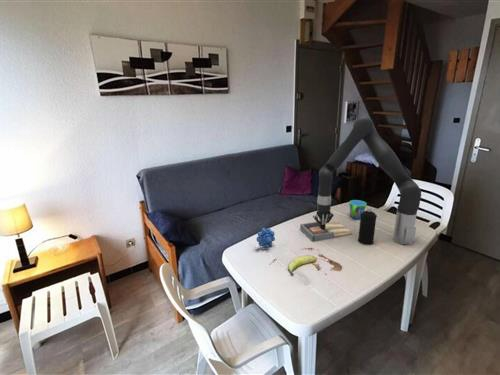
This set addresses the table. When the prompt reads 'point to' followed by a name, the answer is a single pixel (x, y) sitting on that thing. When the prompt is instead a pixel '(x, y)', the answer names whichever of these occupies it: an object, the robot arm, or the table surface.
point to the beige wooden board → (337, 229)
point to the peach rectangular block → (316, 230)
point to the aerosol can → (367, 227)
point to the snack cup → (357, 208)
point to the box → (314, 238)
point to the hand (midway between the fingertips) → (322, 229)
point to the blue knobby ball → (265, 237)
